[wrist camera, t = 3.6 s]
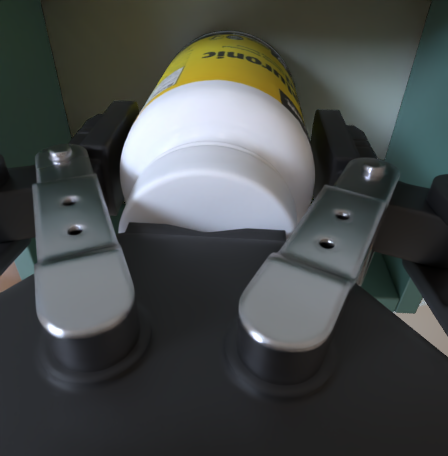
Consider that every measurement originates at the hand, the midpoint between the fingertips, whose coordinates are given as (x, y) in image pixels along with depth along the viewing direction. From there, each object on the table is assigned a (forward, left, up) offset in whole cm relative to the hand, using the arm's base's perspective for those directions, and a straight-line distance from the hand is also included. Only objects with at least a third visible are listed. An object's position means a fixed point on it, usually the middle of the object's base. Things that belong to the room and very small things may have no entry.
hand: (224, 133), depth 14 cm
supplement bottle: (0, 0, -4) cm, 4 cm away
